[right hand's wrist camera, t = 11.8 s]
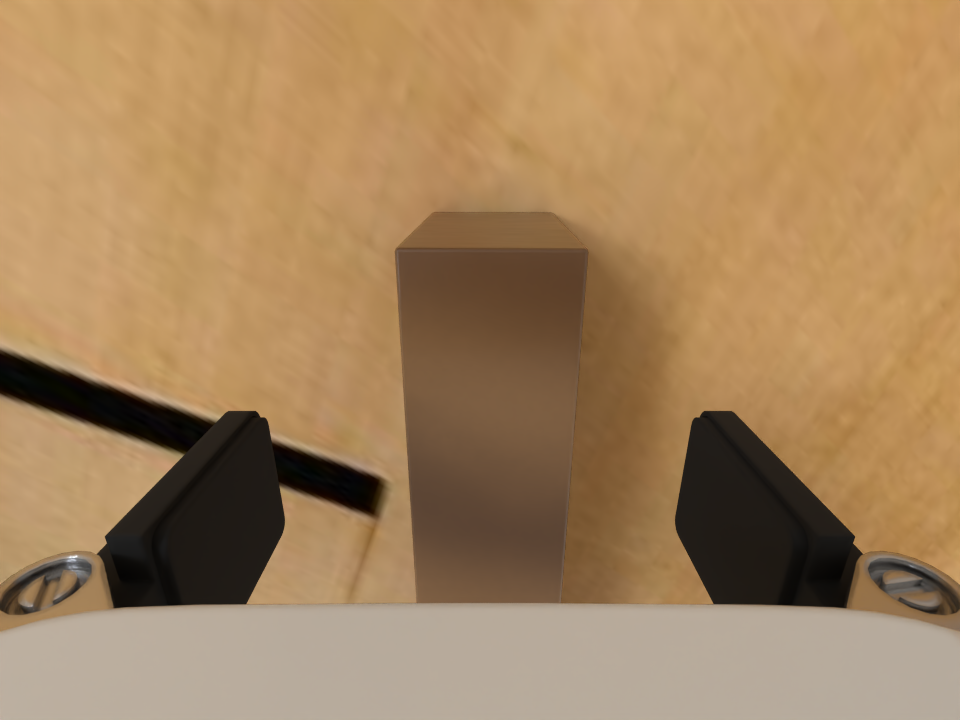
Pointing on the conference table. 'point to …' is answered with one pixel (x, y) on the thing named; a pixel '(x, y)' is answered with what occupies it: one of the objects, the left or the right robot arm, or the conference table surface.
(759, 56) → the conference table surface
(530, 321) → the beam
